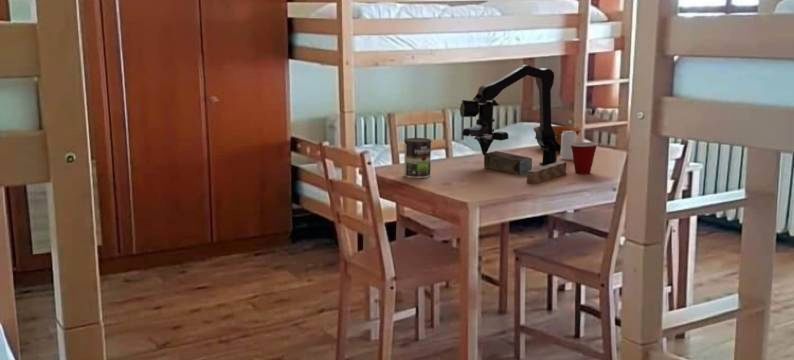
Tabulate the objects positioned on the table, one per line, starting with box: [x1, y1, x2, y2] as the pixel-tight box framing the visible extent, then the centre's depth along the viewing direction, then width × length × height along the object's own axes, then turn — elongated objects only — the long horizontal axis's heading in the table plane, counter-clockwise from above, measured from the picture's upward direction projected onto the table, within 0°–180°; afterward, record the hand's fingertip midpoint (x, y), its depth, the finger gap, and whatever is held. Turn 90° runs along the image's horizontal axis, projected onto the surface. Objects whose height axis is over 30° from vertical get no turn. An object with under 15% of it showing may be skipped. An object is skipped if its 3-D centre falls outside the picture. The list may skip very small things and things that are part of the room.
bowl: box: [533, 125, 581, 151], centre depth 373 cm, size 21×21×10 cm
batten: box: [526, 160, 567, 185], centre depth 311 cm, size 26×3×4 cm, turn 142°
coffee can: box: [403, 137, 432, 179], centre depth 313 cm, size 10×10×14 cm
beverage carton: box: [483, 150, 533, 176], centre depth 326 cm, size 8×19×7 cm, turn 42°
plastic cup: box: [570, 141, 599, 175], centre depth 321 cm, size 11×11×12 cm
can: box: [560, 130, 578, 161], centre depth 350 cm, size 6×6×12 cm
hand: (484, 154), depth 331 cm, fingers closed
